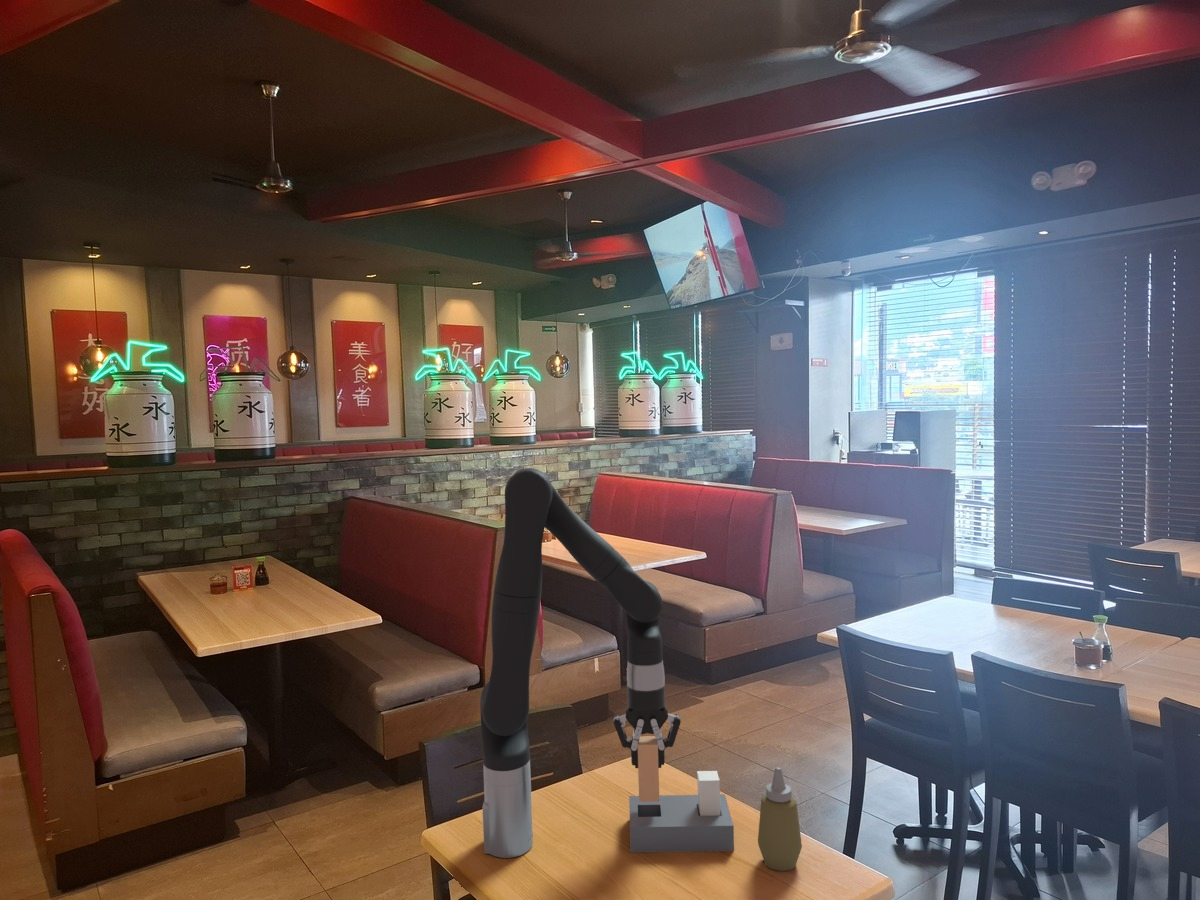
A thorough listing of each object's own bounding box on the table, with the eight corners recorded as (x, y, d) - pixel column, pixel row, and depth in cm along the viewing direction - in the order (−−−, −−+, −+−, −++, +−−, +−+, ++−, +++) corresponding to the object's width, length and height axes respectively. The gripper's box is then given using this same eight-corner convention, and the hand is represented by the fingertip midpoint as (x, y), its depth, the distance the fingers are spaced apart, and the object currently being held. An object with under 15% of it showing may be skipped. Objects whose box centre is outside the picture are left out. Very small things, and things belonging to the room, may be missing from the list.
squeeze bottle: (777, 880, 137) (775, 783, 136) (749, 858, 144) (747, 765, 143) (811, 867, 141) (810, 772, 140) (782, 845, 148) (780, 755, 147)
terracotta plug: (639, 801, 151) (637, 745, 150) (638, 791, 155) (637, 736, 154) (659, 801, 150) (657, 744, 150) (658, 791, 154) (656, 736, 154)
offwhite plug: (700, 837, 151) (699, 780, 150) (698, 826, 155) (697, 771, 154) (720, 836, 151) (719, 780, 150) (718, 825, 155) (717, 770, 154)
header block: (630, 852, 147) (629, 827, 147) (629, 819, 159) (629, 796, 159) (734, 850, 146) (733, 825, 146) (725, 817, 158) (724, 794, 158)
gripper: (610, 690, 148) (612, 776, 149) (683, 688, 147) (685, 774, 148) (610, 676, 155) (613, 758, 156) (680, 675, 155) (682, 757, 156)
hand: (648, 766), depth 152 cm, fingers closed on terracotta plug, 4 cm apart
